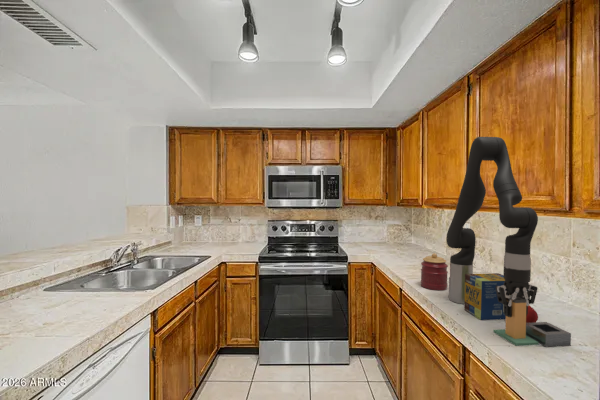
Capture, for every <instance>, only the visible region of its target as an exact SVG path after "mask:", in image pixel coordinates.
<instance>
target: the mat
mask: <svg viewBox="0 0 600 400" xmlns="http://www.w3.org/2000/svg"><path fill="white" fill-rule="evenodd" d="M505 329H506V328H504V329H503V328H502V329H500V328H499V329H493V333H494V334H495V335H498V336H499V337H501V338H502V339H504V340H506V341H508V342H509V343H511V344H512V345H514V346H516V347H520V346H521V347H522V346H538V345H539V342H537V341H535V340H533V339H532V338H530V337H528V336H526V338H521V339H514V338H512V337H511V336H509V335H507V334H506V333H505Z"/></svg>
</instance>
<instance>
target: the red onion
mask: <svg viewBox="0 0 600 400" xmlns="http://www.w3.org/2000/svg"><path fill="white" fill-rule="evenodd" d="M538 320H539V315H538V313H537V311H536V310H535V309H534V307H532V306H531V304H529V306H528V314H527V316H526V323H532V322H538Z"/></svg>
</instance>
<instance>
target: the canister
mask: <svg viewBox="0 0 600 400" xmlns="http://www.w3.org/2000/svg"><path fill="white" fill-rule="evenodd" d="M420 265H421V268H420V279H421V280H420V286H421V287H422V288H424V289H427V290H433V291H444V290H447V289H448V287H449V282H448V273H449V272H448V270H447V268H448V267H449V265H448V264H447V260H446V259H444V258H443V257H441V256H438V255H437V253H435V252H433V253H432V254H431V255H428V256H425V257H424V258H422V262H420Z"/></svg>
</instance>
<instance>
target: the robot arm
mask: <svg viewBox="0 0 600 400" xmlns="http://www.w3.org/2000/svg"><path fill="white" fill-rule="evenodd" d="M484 161H487V162H489V161H491V162H492V161H493V162H494V163H495V166H496V167H497V169H496V173H495V176H494V177H493V181H492V182H493V183H492V187H493V190H494V192H495V195H496V198H497V201H498V211H499V213H498V214H499V215H498V216H499V222H500V224H501V225H502V226H503V227H504V228H507V229H518V230H517V231H516V232H515V233H513V234H509V235H507V236H506V237H505V239H504V256H503V274H502V275H503V277H504V279H505V282H504V284H503V285H502V286H496V287H495V288H496V293H497V298H498V302H500V303H502V304H504V314H505V315H506V316H507V317H512V307H511V305H512V302H513V301H514V300H515V298H516V297H521V298H523V299H526V316H527V314H528V306H529V305H531V304H532V305H533V304H535V300H536V297H537V293H538V289H539V288H538V287H537V286H535V285H533V284H530V282H531V276H532V275H531V273H532V272H531V270H532V259H531V242H532V239H533V236H534V233H535V231H536V228H537V226H538V221H539V217H538V214H537V211H536V210H534V209H533V208H531V207H520V206H519V207H514V206H517V205H518V204H520V203H521V202H522V200H523V196H522V193H521V191H520V188H519V186H518V184H517V182H516V179H515V177H514V174H513V170H512V165H511V159H510V155H509V149H508V146H507V144H506V141H505V140H504V139H503V138H502V137H497V136H478V137H476V138H474V139H473V141H472V143H471V146H470V149H469V154H468V159H467V166H466V170H465V171H466V172H465V175H464V179H463V183H462V186H461V189H460V191H459V196H458V199H457V204H456V208H455V212H454V215H453V217H452V220H451V221H450V225H449V228H448V230H447V233H446V238H445V239H446V244H447V246H448V248H451V249H460V250H459V251H458V252H457V253H455V254H452V255H451V256H450V257H449V258H450V260H449V277H448V298H449V299H448V300H450V301H451V302H453V303H456V304H463V305H465V274H474V259H475V254H476V243H477V242H476V239H477V238H476V234H475V230H473V229H472V228H471V227H470V228H469V227H464V226H465V225H466V223H467V222H468V221H469V219H471V218H472V217H473V216H474V215H475V214H476V213H477V212H478V211H480V209H481V208H482V206H483V203H484V200H485V197H486V193H487V192H486V190H487V189H486V186H485V183H484V180H483V179H482V175H481V165H482V162H484ZM505 290H506V291H505ZM509 295H511V297H510V296H509ZM508 299H509V301H508Z"/></svg>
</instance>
